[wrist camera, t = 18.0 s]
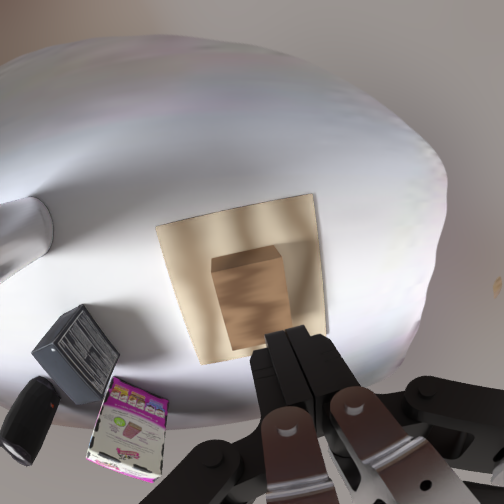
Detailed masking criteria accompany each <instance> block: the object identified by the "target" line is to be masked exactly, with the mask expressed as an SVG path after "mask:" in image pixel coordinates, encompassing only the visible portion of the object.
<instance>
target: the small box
mask: <svg viewBox="0 0 504 504" xmlns="http://www.w3.org/2000/svg"><path fill="white" fill-rule="evenodd" d="M31 354H32V355H33V356H34V358H35V359H36V360H37V361H38V363H39V364H40V365H41V366H42V367H43V369H44V370H45V371H46V372H47V373H48V375H49V376H50V377H51V378H52V379H53V380H54V381H55V382H56V384H57V385H58V386H59V387H60V388H61V389H62V390H63V391H64V392H65V393H66V394H67V395H68V396H69V397H70V398H71V399H72V400H73V401H74V402H75V404H77V405H81V404H86V403H90V402H95V401H99V400H102V399H103V396H104V392H105V389H106V387H107V384H108V382H109V379H110V377H111V375H112V372H113V370H114V367H115V365H116V362H117V360H118V358H119V356H120V354H119V353H118V352H117V350H116V349H115V348H114V347H113V345H112V344H111V343H110V342H109V340H108V339H107V338H106V336H105V335H104V334H103V332H102V331H101V330H100V328H99V327H98V325H97V324H96V323H95V321H94V320H93V318H92V317H91V315H90V314H89V313H88V311H87V310H86V308H85V307H84V305H79V306H78V307H76V308H74V309H72V310H71V311H69V312H67V313H64V314H63V315H62V316H60V317H59V319H58V320H57V321H56V322H55V324H54V325H53V326H52V327H51V328H50V330H49V331H48V332H47V333H46V334H45V336H44V337H43V338H42V339H41V341H40V342H39V343H38V345H37V346H36V347H35V348H34V350H33V351H32V352H31Z"/></svg>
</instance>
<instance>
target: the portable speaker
mask: <svg viewBox="0 0 504 504" xmlns="http://www.w3.org/2000/svg"><path fill="white" fill-rule="evenodd" d="M60 399H61V398H60V397H59V396H58V395H57V394H56V392H55V391H54V389H53V385H52V384H51V383H50V382H49V381H48V380H47V379H45V378H42V377H40V376H38V377H36V378H34V379H32V380H30V381H29V382H28V384H27V385H26V386H25V387H24V389H23V390H22V391H21V393H20V394H19V396H18V397H17V399H16V401H15V402H14V404H13V406H12V407H11V409H10V411H9V412H8V414H7V416H6V418H5V420H4V422H3V425H2V428H1V430H0V447H2V448H4V449H5V450H6V451H7V452H8V453H9V454H10V455H11V456H12V458H13V459H14V460H16V461H17V462H19V463H20V464H22V465H25V466H30V465H32V463H33V462H34V460H35V458H36V456H37V454H38V452H39V451H40V449H41V447H42V444H43V442H44V439H45V437H46V435H47V432H48V430H49V428H50V425H51V423H52V421H53V418H54V415H55V413H56V410H57V408H58V405H59V402H60Z"/></svg>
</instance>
